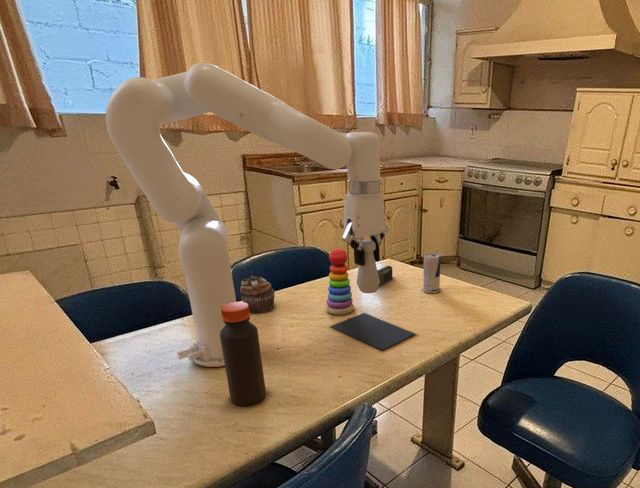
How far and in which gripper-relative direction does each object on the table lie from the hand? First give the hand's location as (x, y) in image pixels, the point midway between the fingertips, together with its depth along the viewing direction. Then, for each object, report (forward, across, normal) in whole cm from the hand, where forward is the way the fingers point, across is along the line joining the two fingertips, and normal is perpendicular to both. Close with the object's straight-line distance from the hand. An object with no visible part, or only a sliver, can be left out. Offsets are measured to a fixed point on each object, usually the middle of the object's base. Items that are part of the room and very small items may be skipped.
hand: (367, 261), depth 113 cm
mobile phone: (+20, -28, -25) cm, 42 cm away
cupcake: (+20, +11, -36) cm, 43 cm away
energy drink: (+20, -35, -8) cm, 41 cm away
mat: (+20, -1, 0) cm, 20 cm away
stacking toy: (+20, -4, -17) cm, 26 cm away
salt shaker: (+8, 0, 0) cm, 8 cm away
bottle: (+20, +37, +4) cm, 42 cm away
